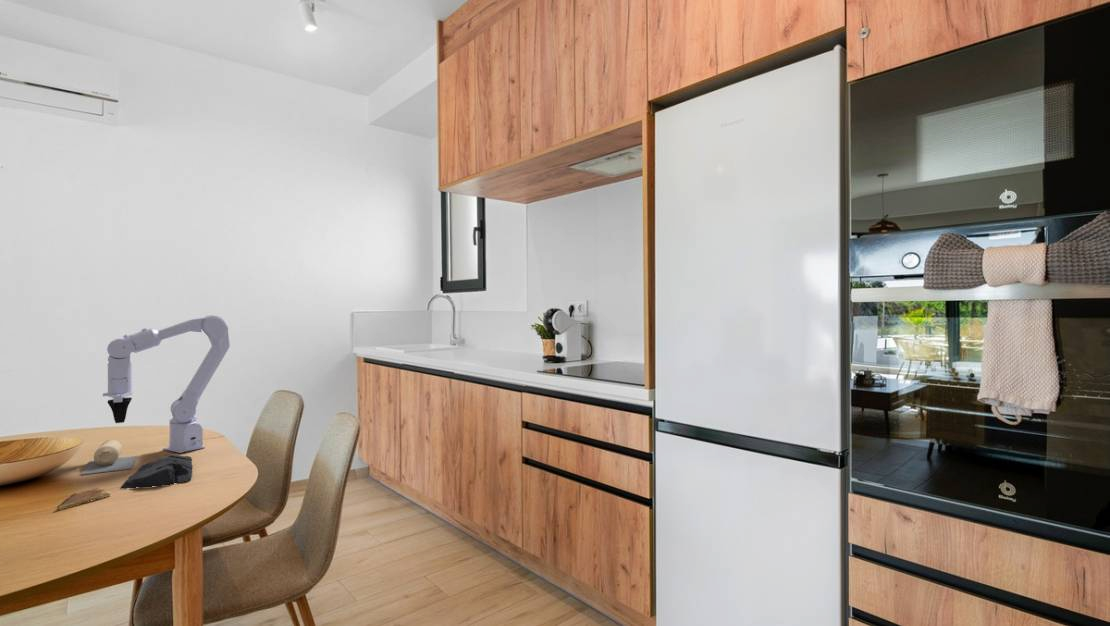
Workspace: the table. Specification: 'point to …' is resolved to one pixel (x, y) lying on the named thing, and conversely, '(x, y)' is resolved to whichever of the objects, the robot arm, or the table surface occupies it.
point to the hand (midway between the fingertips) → (119, 422)
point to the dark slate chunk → (162, 472)
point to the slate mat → (109, 466)
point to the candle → (108, 452)
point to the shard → (83, 497)
